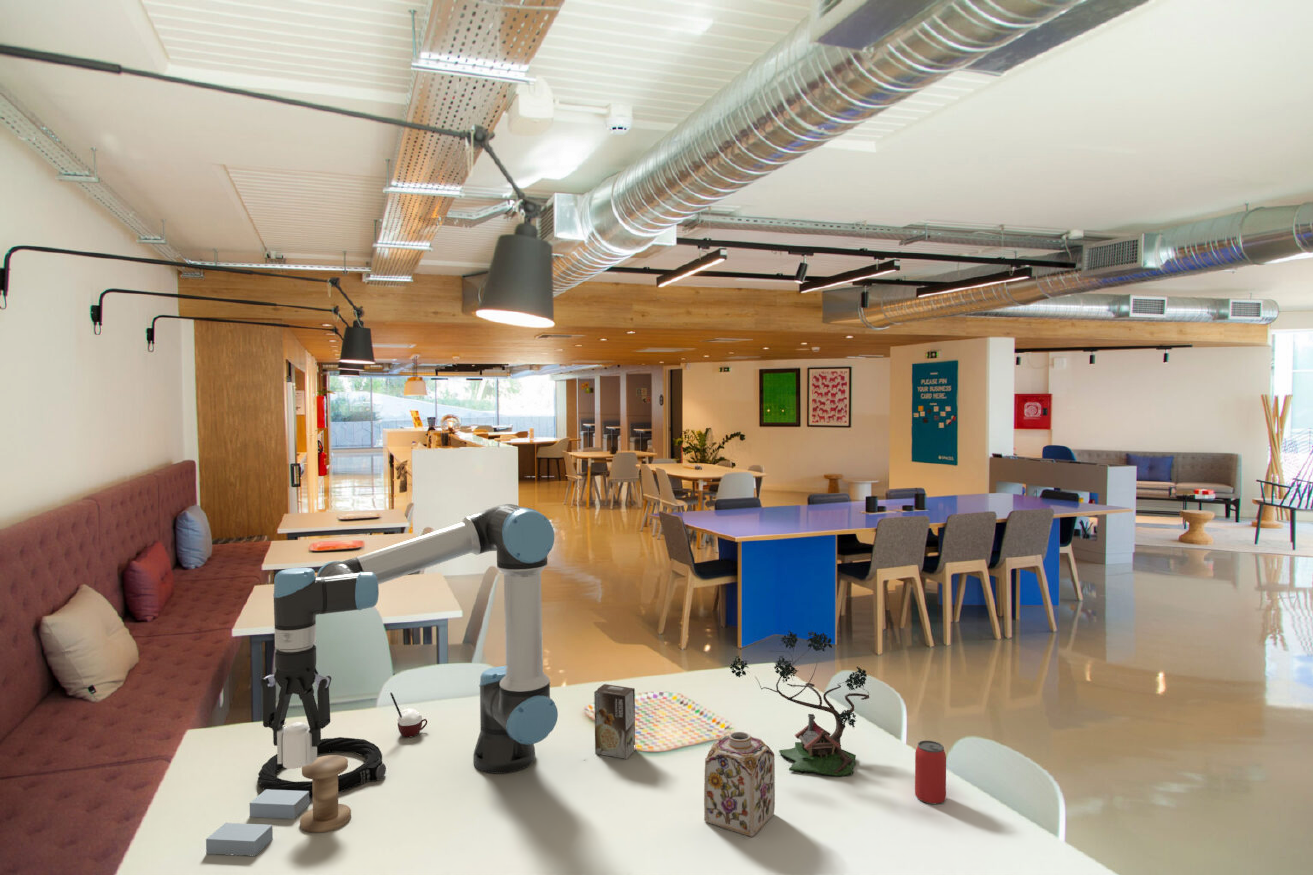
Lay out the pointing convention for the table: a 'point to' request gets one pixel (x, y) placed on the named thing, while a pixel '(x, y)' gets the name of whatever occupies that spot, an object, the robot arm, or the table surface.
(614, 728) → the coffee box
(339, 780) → the cable lock
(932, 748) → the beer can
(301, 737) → the capsule
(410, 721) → the cocoa
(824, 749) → the bonsai tree
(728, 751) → the decorative jar
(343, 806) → the knob
